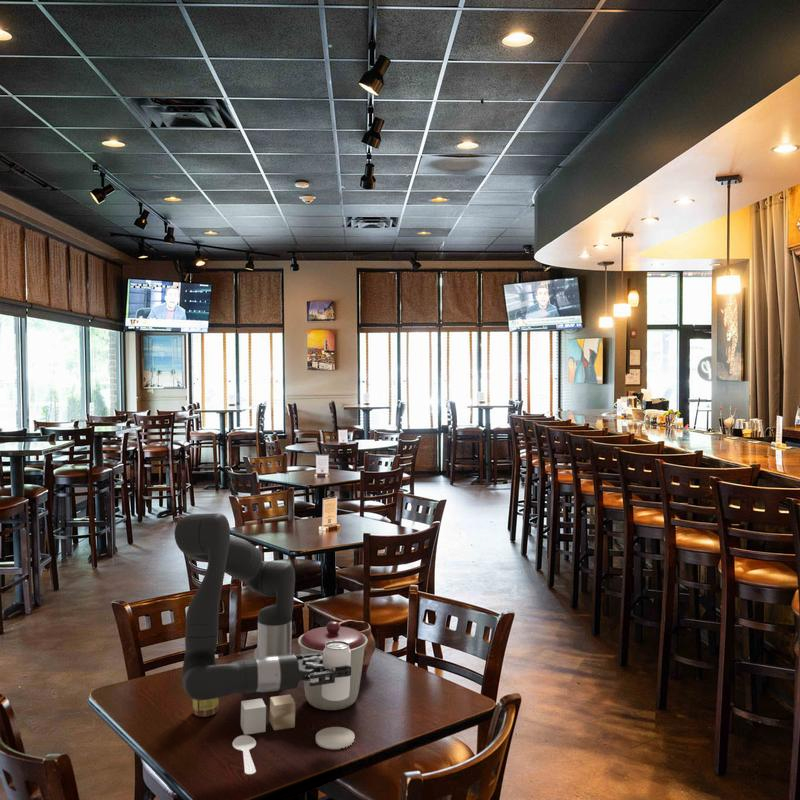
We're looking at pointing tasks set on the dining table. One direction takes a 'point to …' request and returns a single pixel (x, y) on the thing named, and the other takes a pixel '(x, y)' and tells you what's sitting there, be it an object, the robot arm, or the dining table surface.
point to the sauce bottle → (205, 706)
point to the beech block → (282, 712)
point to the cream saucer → (335, 738)
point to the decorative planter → (366, 630)
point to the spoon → (246, 751)
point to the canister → (316, 644)
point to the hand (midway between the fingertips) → (345, 665)
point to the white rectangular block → (253, 716)
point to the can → (336, 657)
